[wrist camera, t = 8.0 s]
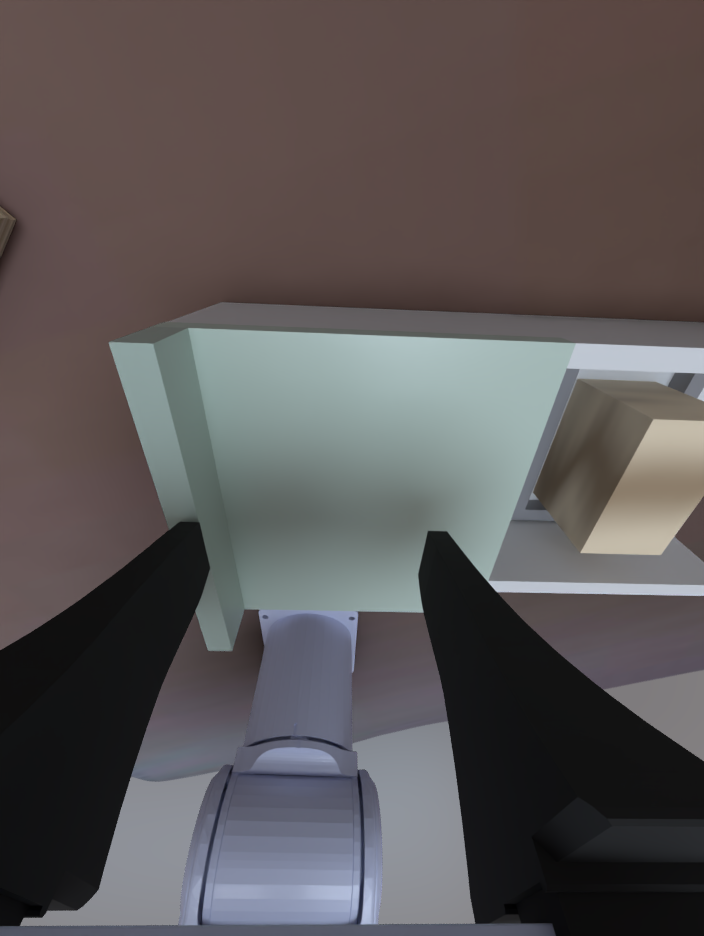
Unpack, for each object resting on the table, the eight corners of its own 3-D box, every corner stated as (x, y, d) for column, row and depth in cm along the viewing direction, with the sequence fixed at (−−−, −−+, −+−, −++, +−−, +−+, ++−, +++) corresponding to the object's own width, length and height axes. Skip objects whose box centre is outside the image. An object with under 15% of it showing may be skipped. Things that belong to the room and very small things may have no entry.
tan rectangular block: (597, 494, 21) (660, 554, 17) (532, 492, 21) (580, 553, 16) (655, 381, 17) (756, 422, 13) (577, 378, 17) (653, 419, 13)
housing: (631, 514, 23) (721, 596, 18) (251, 504, 22) (219, 586, 17) (747, 324, 17) (943, 357, 11) (221, 302, 16) (154, 326, 10)
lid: (471, 599, 17) (491, 654, 15) (228, 594, 17) (208, 650, 14) (561, 337, 10) (623, 361, 8) (164, 321, 10) (108, 341, 8)
